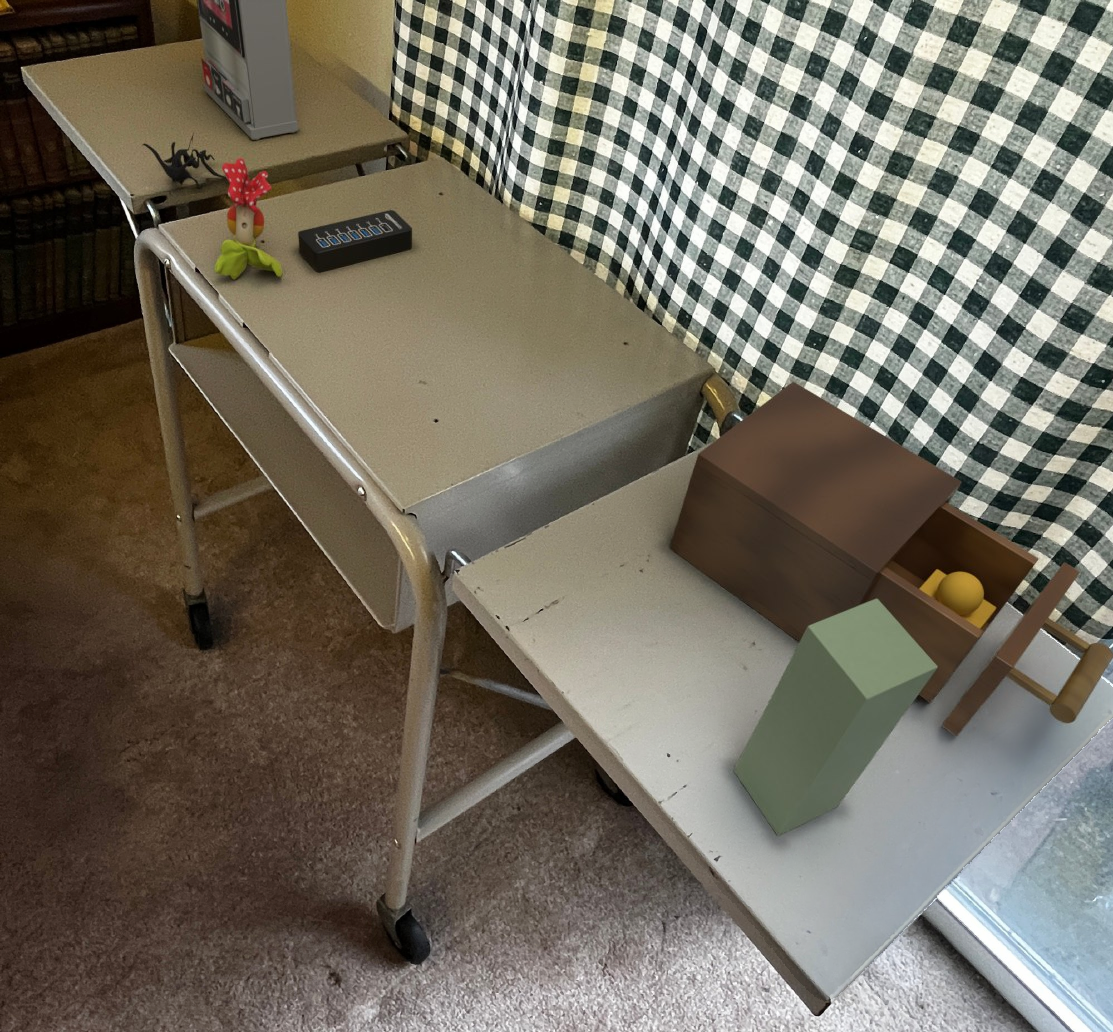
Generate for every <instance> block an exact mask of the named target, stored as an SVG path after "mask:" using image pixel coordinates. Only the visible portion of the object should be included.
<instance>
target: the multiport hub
mask: <svg viewBox="0 0 1113 1032" xmlns="http://www.w3.org/2000/svg"><path fill="white" fill-rule="evenodd" d="M297 238H298V249H299V254H300V255H301V256H302V257H303V258H304V260H305V261H306V262H307V264H309V266H310V267H311V268H312V269H313V270H314V272H317V273H324V272H328V271H332V270H336V269H339V268H343V267H347V266H351V265H355V264H358V263H362V262H367V261H371V260H374V259H379V258H382V257H386V256H390V255H393V254H399V253H401V252H405V251H409V250H412V249H413V227H412V226H411V225H410V224H409V223H408V222H407V221H406V220H405V219H404V218H403V217H401V216H400V214H399V213H398V212H397V211H395V210H393V209H389V210H384V211H380V212H375V213H371V214H367V215H363V216H359V217H354V218H350V219H346V220H342V221H337V222H332V223H328V224H324V225H320V226H319V225H318V226H316V227H312V228H307V229H303V230H299V231H298V232H297Z"/></svg>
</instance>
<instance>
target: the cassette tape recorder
mask: <svg viewBox="0 0 1113 1032" xmlns="http://www.w3.org/2000/svg"><path fill="white" fill-rule="evenodd" d="M196 6H197V7H196V8H197V13H198V17H199V18H198V19H199V24H200V31H201V39H202V45H203V52H204V59H205V60H204V59H203V58H202V57H201V58H200V59H201V66H202V72H203V80H204V81H203V86H204V87H203V88H204V91H205V93H207V94H208V96H209V97H210V98H211V99H212V100H213V101H214V102H215V103H216V104H217V105H218V106H219V107H220V108H221V109H222V111H224V112H225V113H226V114H227V115H228V116H229V117H230V119H231V120H232V121H233V122H235V124H237V126H238V127H239V128H241V130H242V131H243V132H244V133H245V134H246V135H247V136H248V137H249V138H250V139H251V140H254V141H258V140H260V139H262V138H266V137H272V136H278V135H283V134H288V133H290V134H294V133H296V132H299V120H297V113H296V101H295V100H296V99H295V89H294V88H295V87H294V78H293V65H292V54H291V43H290V41H291V40H290V30H289V29H290V28H289V19H288V18H289V17H288V7H287V0H196Z"/></svg>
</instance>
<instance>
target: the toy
mask: <svg viewBox="0 0 1113 1032" xmlns="http://www.w3.org/2000/svg"><path fill="white" fill-rule="evenodd" d="M919 589H920V590H922V591H923V592H925V593H926V594H928V595H929V596H931V597H932V598H934V599H935V600H937V601H938V602H940V603H941V604H943V605H944V606H946V607H947V608H949V609H950V610H952V611H953V612H955V613H956V614H958V615H960V616H961V617H963V618H964V619H966V620H967V621H969V622H970V623H972V624H973V625H975V626H976V627H978V628H979V629H982V627H983V626H984V625H985V623H986V622H987V621H988V619H989V618H990V617H991V615H992V614H993V612H994V611H995V610H996V607H995V606H993V605H992V604H990V603H989V602H987V601H986V600H984V599H983V597H984V590H983V587H982V585H981V583H980V581H979V580H978V579H977V578H976V577H974V576H973V575H971V574H969V573H966V572H954V573H951V574H948V575H946V574H944V573H943V572H941V571H940V570H938V569H936V570H935V571H934V573H933V574H932V575H931V576H930V577H929V578H928V579H927V580H926V582H925V583H924V584H923V585H922V586H921V587H920V588H919Z"/></svg>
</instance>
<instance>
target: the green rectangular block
mask: <svg viewBox="0 0 1113 1032" xmlns="http://www.w3.org/2000/svg"><path fill="white" fill-rule="evenodd" d="M937 668H938V667H937V665H936V664H935V663H934V662H933V661H932V660H931V658H930V657H929V656H928V655H927V654H926V653H925V652H924V651H923V649H922V648H921V647H920V646H919V645H918V644H917V643H916V642H915V640H914V639H913V638H912V637H911V636H910V635H909V634H908V633H907V631H906V630H905V629H904V628H903V627H902V626H901V625H900V624H899V622H898V621H897V620H896V619H895V618H894V617H893V616H892V614H891V613H890V612H889V611H888V610H887V609H886V608H885V607H884V605H883V604H882V603H881V602H880V601H879V600H878V599H874V600H871V601H869V602H866V603H864V604H861V605H859V606H856V607H854V608H851V609H849V610H846V611H844V612H841V613H839V614H836V615H834V616H831V617H829V618H826V619H824V620H821V621H819V622H816V623H814V624H811V625H809V626H808V627H807V629H806V631H805V633H804V635H803V636H802V638H801V640H800V642H799V641H798V644H797V646H796V648H795V650H794V652H793V654H792V656H791V658H790V659H789V662H788V664H787V665H786V668H785V669H784V672H782V673H783V674H782V676H781V678H780V679H779V681H778V684H777V685H776V687H775V689H774V691H773V693H772V694H771V697H770V698H769V700H768V703H767V704H766V706H765V708H764V710H763V713H762V714H761V716H760V718H759V720H758V722H757V724H756V725H755V728H754V730H753V732H752V734H751V736H750V738H749V740H748V742H747V743H746V746H745V748H744V749H743V751H742V754H741V755H740V756H739V759H738V761H737V763H736V765H735V767H734V769H733V772H734V773H735V775H736V777H737V778H738V779H739V781H740V782H741V784H742V785H743V786H744V788H745V790H746V792H747V793H748V794H749V795H750V797H751V798H752V800H753V801H754V804H755V805H756V807H757V808H758V809H759V811H760V812H761V813H762V815H763V816H764V818H765V819H766V821H767V822H768V824H769V825H770V827H771V828H772V830H773V831H774V833H775V834H776V836H777V837H779V836H782V835H784V834H786V833H788V832H790V831H792V830H794V829H796V828H798V827H800V826H801V825H804V824H806V823H808V822H810V821H811V820H814V819H815V818H817V817H820V816H822V815H824V814H825V813H828V812H829V811H832V810H834V809H836V808H837V807H839V806H840V805H841V803H842V801H844V799H845V798H846V796H847V795H848V793H849V792H850V791H851V789H852V788H853V786H854V785H855V784H856V782H857V781H858V780H859V778H860V777H861V775H862V774H863V773H864V771H865V769H866V768H867V767H868V766H869V764H870V763H871V761H872V760H873V758H875V756H876V754H877V753H878V752H879V750H880V749H881V748H882V747H883V744H884V743H885V742H886V740H887V738H889V737H890V735H891V733H892V732H893V731H894V729H895V728H896V727H897V725H898V724H899V722H900V721H901V719H902V718H903V717H904V715H905V714H906V713H907V712H908V710H909V708H910V707H911V705H912V704H913V703H914V701H915V700H916V699H917V697H918V696H919V695H918V694H919V693H920V691H921V690H922V689H923V687H924V686H925V684H926V683H927V682H928V680H929V679H930V677H931V676H932V675H933V673H934V672H935V671H936V669H937Z"/></svg>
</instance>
